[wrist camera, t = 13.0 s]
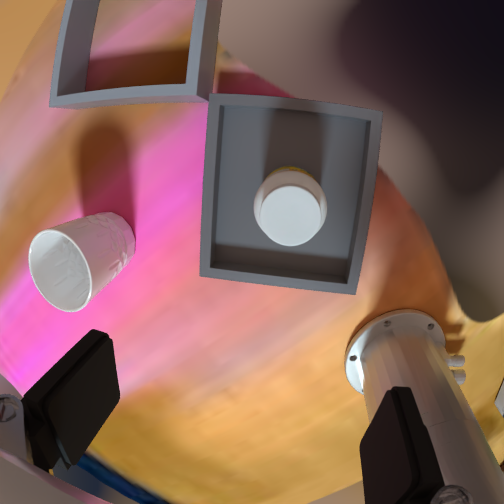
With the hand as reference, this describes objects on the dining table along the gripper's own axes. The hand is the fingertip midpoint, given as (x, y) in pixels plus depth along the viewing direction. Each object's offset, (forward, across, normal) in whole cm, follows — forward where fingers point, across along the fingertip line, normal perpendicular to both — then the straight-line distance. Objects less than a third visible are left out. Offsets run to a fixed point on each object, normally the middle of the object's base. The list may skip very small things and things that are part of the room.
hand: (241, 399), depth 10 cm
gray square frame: (+23, +17, -19) cm, 34 cm away
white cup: (+23, +19, +4) cm, 30 cm away
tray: (+23, 0, -4) cm, 23 cm away
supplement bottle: (+22, 0, -4) cm, 23 cm away
